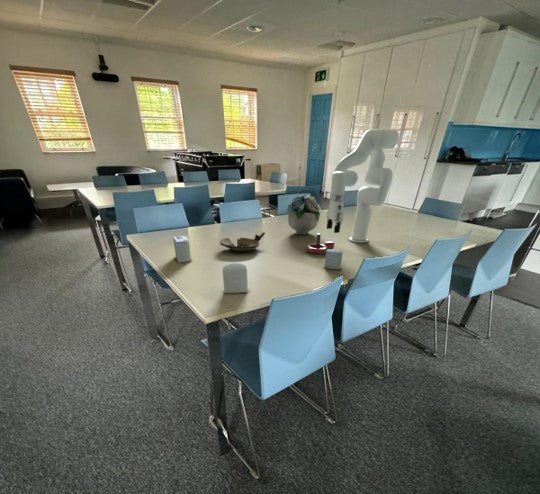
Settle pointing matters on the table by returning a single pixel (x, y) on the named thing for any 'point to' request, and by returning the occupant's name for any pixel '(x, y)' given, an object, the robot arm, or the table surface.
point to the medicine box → (333, 259)
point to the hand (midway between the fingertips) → (332, 230)
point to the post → (317, 245)
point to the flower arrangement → (303, 214)
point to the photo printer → (235, 278)
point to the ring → (320, 247)
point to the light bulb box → (182, 249)
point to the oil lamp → (242, 243)
